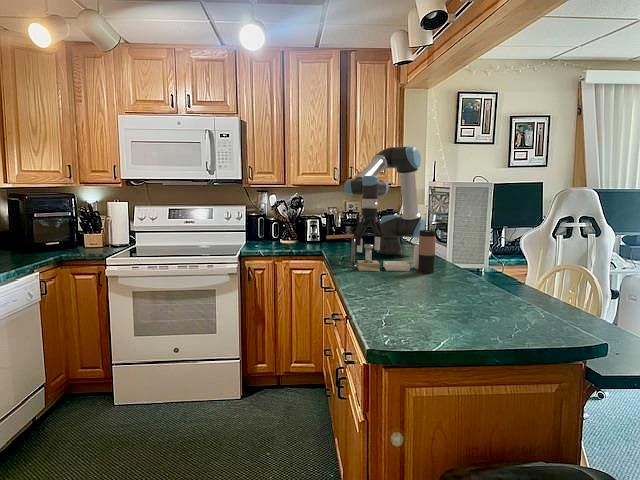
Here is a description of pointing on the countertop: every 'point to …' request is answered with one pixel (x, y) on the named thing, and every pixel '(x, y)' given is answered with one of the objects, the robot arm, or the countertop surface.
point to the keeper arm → (340, 236)
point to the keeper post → (353, 254)
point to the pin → (368, 253)
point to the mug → (416, 256)
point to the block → (368, 265)
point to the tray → (396, 266)
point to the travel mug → (427, 251)
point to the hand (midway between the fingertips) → (368, 251)
